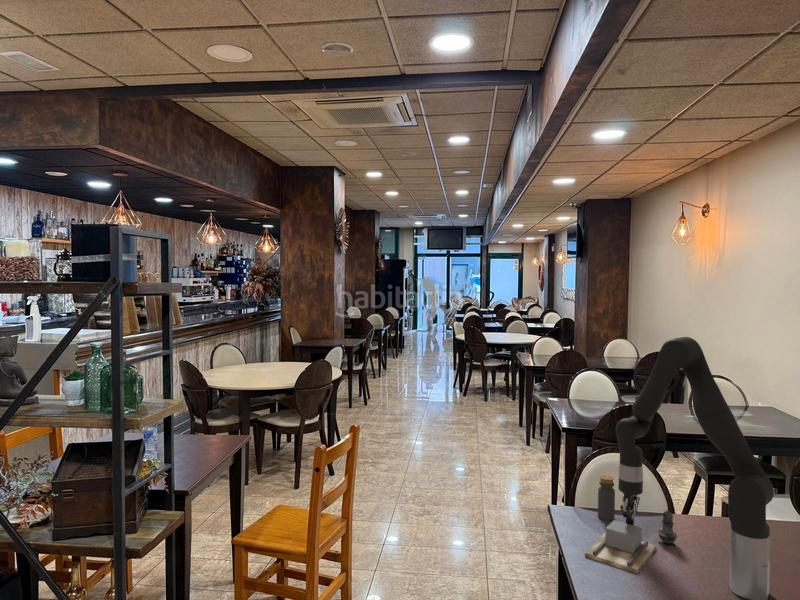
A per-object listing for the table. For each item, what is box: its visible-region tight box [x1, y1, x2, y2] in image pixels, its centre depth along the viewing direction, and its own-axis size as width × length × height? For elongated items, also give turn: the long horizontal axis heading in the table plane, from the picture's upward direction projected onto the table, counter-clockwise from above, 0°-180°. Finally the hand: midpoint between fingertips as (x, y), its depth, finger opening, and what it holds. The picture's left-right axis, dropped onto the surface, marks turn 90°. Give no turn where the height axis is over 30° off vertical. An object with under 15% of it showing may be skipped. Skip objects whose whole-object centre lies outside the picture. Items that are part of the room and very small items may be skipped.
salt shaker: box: [657, 508, 678, 549], centre depth 183 cm, size 6×6×12 cm
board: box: [584, 531, 657, 574], centre depth 177 cm, size 16×20×2 cm
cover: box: [605, 519, 643, 554], centre depth 179 cm, size 9×8×6 cm
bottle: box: [597, 475, 616, 522], centre depth 203 cm, size 6×6×15 cm
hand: (629, 528), depth 183 cm, fingers closed
